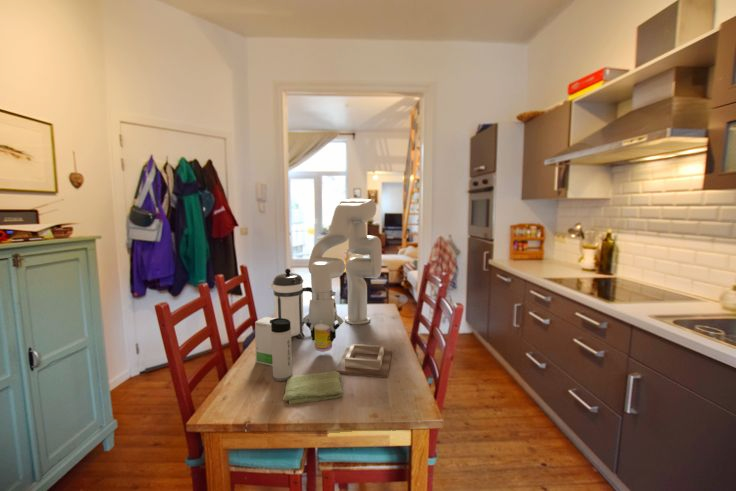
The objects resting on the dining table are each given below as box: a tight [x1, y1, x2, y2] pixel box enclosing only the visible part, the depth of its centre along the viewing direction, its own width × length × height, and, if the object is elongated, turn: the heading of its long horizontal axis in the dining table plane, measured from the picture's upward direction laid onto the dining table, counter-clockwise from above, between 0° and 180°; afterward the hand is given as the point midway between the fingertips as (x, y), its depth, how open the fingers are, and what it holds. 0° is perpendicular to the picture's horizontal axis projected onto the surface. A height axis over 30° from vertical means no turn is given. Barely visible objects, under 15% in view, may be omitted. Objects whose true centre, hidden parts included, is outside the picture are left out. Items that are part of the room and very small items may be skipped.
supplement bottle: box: [314, 320, 333, 353], centre depth 124 cm, size 7×7×13 cm
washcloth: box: [283, 370, 344, 405], centre depth 101 cm, size 13×18×3 cm
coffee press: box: [269, 268, 312, 339], centre depth 142 cm, size 17×16×30 cm
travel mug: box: [270, 318, 293, 382], centre depth 108 cm, size 6×7×20 cm
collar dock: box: [334, 343, 393, 378], centre depth 119 cm, size 18×18×4 cm
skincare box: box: [254, 316, 276, 367], centre depth 119 cm, size 8×7×16 cm
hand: (323, 339), depth 124 cm, fingers closed on supplement bottle, 6 cm apart
